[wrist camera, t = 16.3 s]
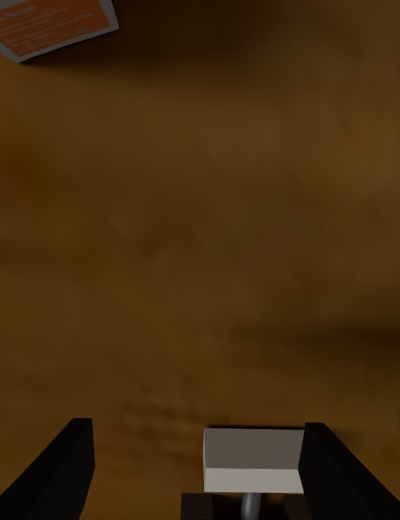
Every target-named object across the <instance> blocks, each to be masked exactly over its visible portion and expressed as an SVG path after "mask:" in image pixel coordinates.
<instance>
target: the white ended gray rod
mask: <svg viewBox="0 0 400 520" xmlns="http://www.w3.org/2000/svg"><path fill="white" fill-rule="evenodd" d="M303 435H304V430H271V429H222V428H204V442H203V463H204V492H243V499H242V507H241V516H240V520H258V519H259V512H260V505H261V498H262V493H304V491H303V488H302V484H301V480H300V477H299V473H298V464H299V458H300V452H301V446H302V441H303Z"/></svg>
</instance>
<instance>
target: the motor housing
mask: <svg viewBox="0 0 400 520" xmlns="http://www.w3.org/2000/svg"><path fill="white" fill-rule="evenodd" d="M181 520H213V504H212V494H182V496H181ZM280 520H313V519H312V517H311V514H310V511H309V508H308V505H307V502H306V498H305V495H284V497H283V503H282V509H281V516H280Z"/></svg>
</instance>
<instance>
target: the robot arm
mask: <svg viewBox="0 0 400 520" xmlns="http://www.w3.org/2000/svg"><path fill="white" fill-rule="evenodd" d="M94 469H95V457H94V442H93V426H92V418H73V419H72V420H71V421H70V422H69V423H68V424H67V425H66V426H65V427H64V428H63V429H62V430H61V432H60V433H59V434H58V435H57V436H56V437H55V438H54V439H53V440H52V442H51V443H50V444H49V445H48V446H47V447H46V448H45V449H44V450H43V451H42V452H41V454H40V455H39V456H38V457H37V458H36V459H35V460H34V461H33V462H32V463H31V464H30V465H29V466H28V467H27V468H26V469H25V470H24V472H23V473H22V474H21V475H20V476H19V477H18V478H17V479H16V480H15V481H14V482H13V483H12V484H11V485H10V486H9V487H8V488H7V489H6V490H5V491H4V492H3V493H2V494H1V495H0V520H79V518H80V515H81V512H82V510H83V507H84V504H85V501H86V497H87V494H88V490H89V487H90V483H91V480H92V476H93V472H94ZM298 473H299V477H300V480H301V484H302V488H303V491H304V495H305V498H306V502H307V505H308V508H309V511H310V514H311V517H312V519H313V520H400V501H399V500H398V499H397V498H396V497H395V496H393V495H392V494H391V493H390V492H389V491H388V490H387V489H386V488H385V487H384V486H383V485H382V484H381V483H380V482H379V480H378V479H377V478H376V477H375V476H374V475H373V474H372V473H371V472H370V471H369V470H368V469H367V468H366V467H365V466H364V465H363V464H362V463H361V462H360V461H359V460H358V459H357V458H356V457H355V456H354V455H353V454H352V453H351V451H350V450H349V449H348V448H347V447H346V446H345V445H344V444H343V443H342V442H341V441H340V440H339V439H338V438H337V437H336V436H335V434H334V433H333V432H332V431H331V430H330V429H329V428H328V427H327V426H326V425H325V424H324V423H308V422H306V424H305V429H304V435H303V441H302V446H301V452H300V458H299V464H298Z"/></svg>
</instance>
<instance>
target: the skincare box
mask: <svg viewBox="0 0 400 520" xmlns="http://www.w3.org/2000/svg"><path fill="white" fill-rule="evenodd" d="M118 28H119V24H118V21H117V18H116V15H115V11H114V8H113V5H112V2H111V0H0V52H1V53H3V54H4V55H5V56H7V57H8V58H9V59H11V60H12V61H14V62H15V63H19V62H22V61H24V60H26V59H29V58H31V57H34V56H37V55H40V54H44V53H46V52H49V51H52V50H55V49H57V48H60V47H63V46H66V45H69V44H72V43H75V42H79V41H82V40H85V39H88V38H92V37H95V36H98V35H101V34H105V33H108V32H111V31H115V30H117V29H118Z"/></svg>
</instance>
